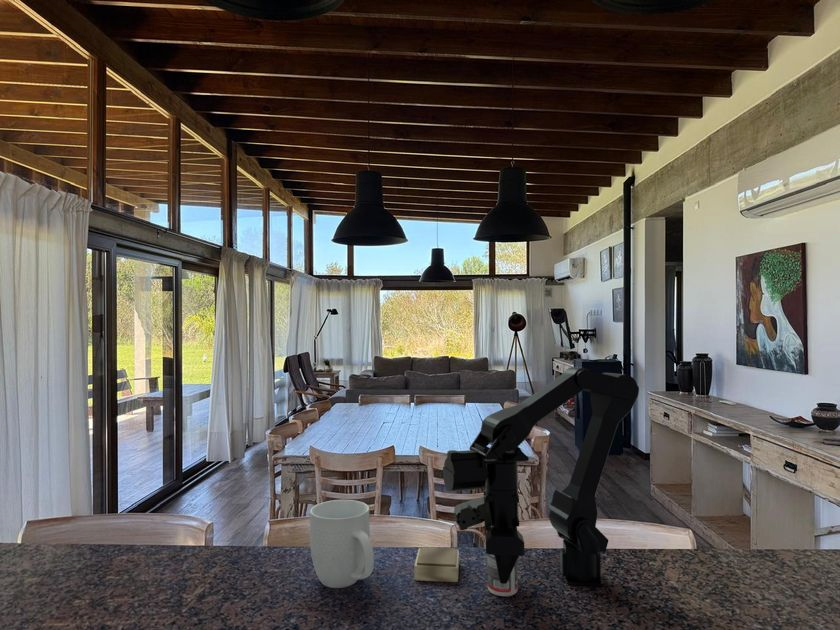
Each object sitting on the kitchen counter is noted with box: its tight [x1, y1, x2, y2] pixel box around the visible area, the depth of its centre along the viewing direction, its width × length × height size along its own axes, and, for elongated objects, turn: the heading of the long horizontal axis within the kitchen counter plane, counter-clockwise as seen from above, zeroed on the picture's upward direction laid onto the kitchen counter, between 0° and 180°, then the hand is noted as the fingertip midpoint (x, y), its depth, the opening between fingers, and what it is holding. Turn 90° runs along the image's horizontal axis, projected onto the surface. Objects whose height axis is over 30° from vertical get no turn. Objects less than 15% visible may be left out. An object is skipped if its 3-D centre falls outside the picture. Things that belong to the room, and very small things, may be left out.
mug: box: [309, 499, 375, 589], centre depth 94 cm, size 15×11×13 cm
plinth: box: [413, 546, 460, 583], centre depth 98 cm, size 8×8×3 cm
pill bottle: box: [486, 553, 519, 597], centre depth 91 cm, size 5×5×10 cm
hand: (502, 575), depth 91 cm, fingers open, 6 cm apart
